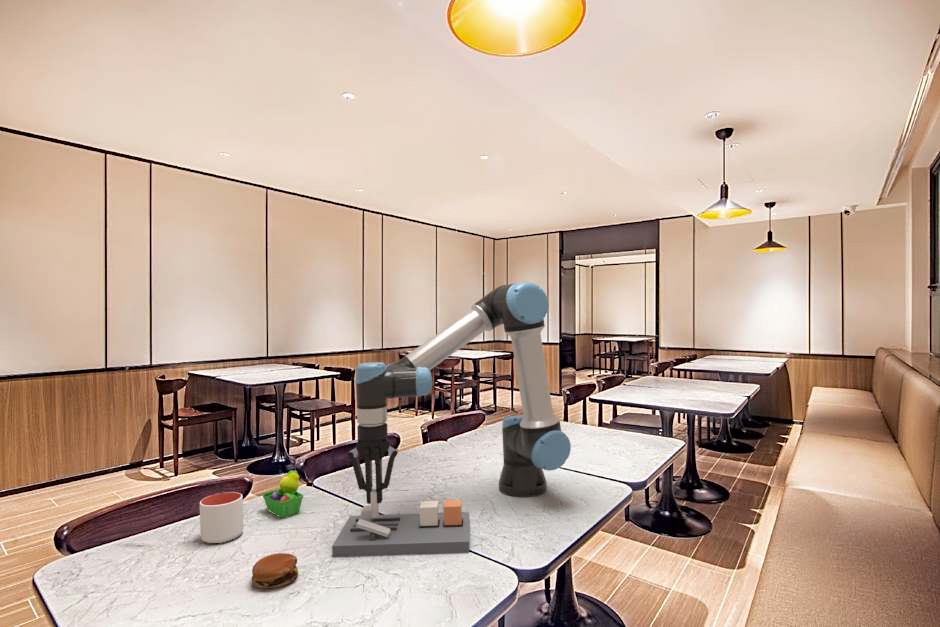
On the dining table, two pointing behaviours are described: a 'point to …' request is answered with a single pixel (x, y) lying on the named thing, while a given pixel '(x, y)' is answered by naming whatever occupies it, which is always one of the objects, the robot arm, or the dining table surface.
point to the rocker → (373, 527)
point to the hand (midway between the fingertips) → (375, 515)
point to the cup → (221, 517)
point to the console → (402, 537)
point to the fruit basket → (285, 496)
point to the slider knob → (366, 514)
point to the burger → (274, 571)
